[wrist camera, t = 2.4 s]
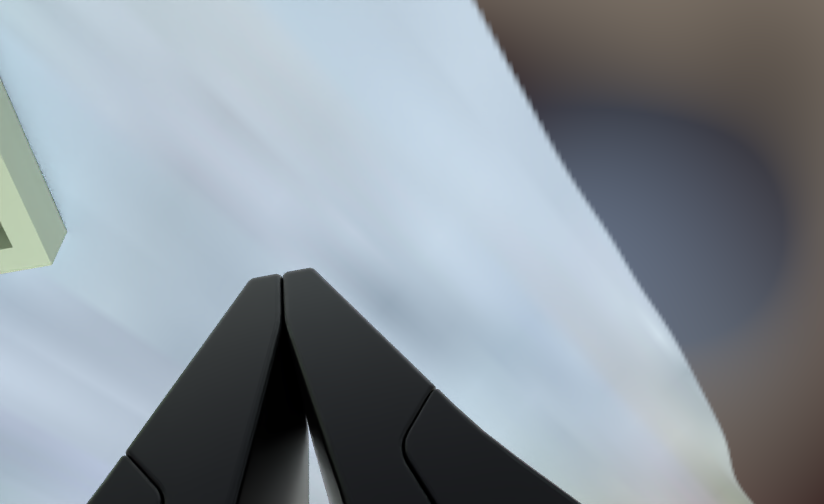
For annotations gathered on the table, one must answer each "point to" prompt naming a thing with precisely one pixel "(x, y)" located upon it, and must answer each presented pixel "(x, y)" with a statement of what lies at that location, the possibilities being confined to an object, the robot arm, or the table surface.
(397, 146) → the table surface
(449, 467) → the robot arm
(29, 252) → the tray
